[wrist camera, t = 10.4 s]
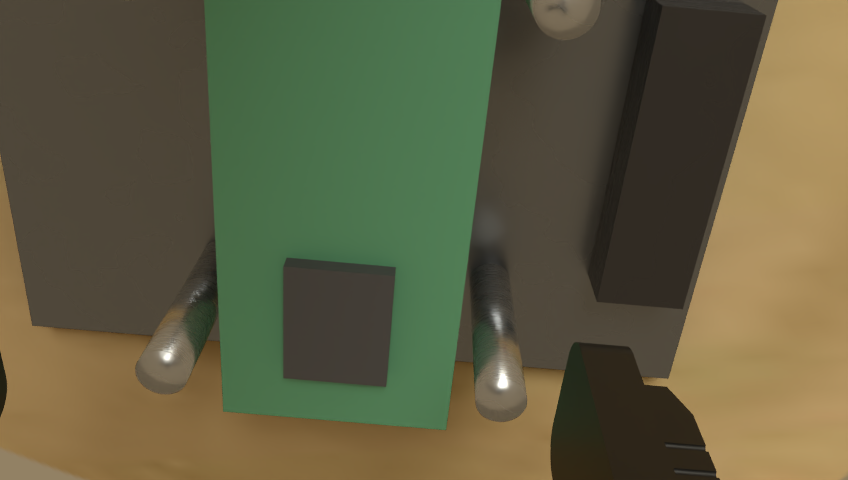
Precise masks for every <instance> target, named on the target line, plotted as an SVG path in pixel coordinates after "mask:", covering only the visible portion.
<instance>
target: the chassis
mask: <svg viewBox="0 0 848 480" xmlns="http://www.w3.org/2000/svg"><path fill="white" fill-rule="evenodd" d="M777 2H778V0H501V8H500V15H499V23H498V31H497V39H496V46H495V54H494V62H493V70H492V77H491V85H490V93H489V101H488V108H487V116H486V124H485V132H484V139H483V147H482V155H481V163H480V170H479V178H478V186H477V194H476V201H475V209H474V217H473V225H472V233H471V240H470V248H469V256H468V264H467V271H466V279H465V287H464V295H463V302H462V310H461V318H460V326H459V333H458V341H457V349H456V357H455V361H463V362H473V364H474V383H475V402H476V408H477V410H478V411H479V413H480V414H481V415H482V416H483V417H485V418H487V419H489V420H492V421H497V422H505V421H510V420H513V419H515V418H517V417H518V416H520V415H521V414H522V413H523V411H524V410H525V408H526V405H527V395H526V388H525V381H524V374H523V367H535V368H547V369H559V370H565V369H566V365H567V360H568V356H569V352H570V349H571V347H572V345H573V343H575V342H581V343H593V344H605V345H616V346H628V347H629V348H630V349H631V350H632V352H633V354H634V357H635V360H636V363H637V366H638V369H639V371H640V374H641V376H643V377H655V378H667V379H668V378H669V374H670V371H671V368H672V364H673V361H674V357H675V354H676V350H677V347H678V343H679V340H680V336H681V333H682V330H683V326H684V323H685V319H686V316H687V312H688V309H689V305H690V302H691V299H692V295H693V292H694V288H695V285H696V281H697V278H698V274H699V271H700V268H701V264H702V261H703V257H704V254H705V250H706V247H707V243H708V240H709V236H710V233H711V230H712V226H713V223H714V219H715V216H716V212H717V209H718V205H719V202H720V199H721V195H722V192H723V188H724V185H725V181H726V178H727V174H728V171H729V168H730V164H731V161H732V157H733V154H734V150H735V147H736V143H737V140H738V136H739V133H740V130H741V126H742V123H743V119H744V116H745V112H746V109H747V105H748V102H749V99H750V95H751V92H752V88H753V85H754V81H755V78H756V74H757V71H758V68H759V64H760V61H761V57H762V54H763V50H764V47H765V43H766V40H767V36H768V33H769V30H770V26H771V23H772V19H773V16H774V12H775V9H776V5H777ZM0 154H1V159H2V164H3V170H4V175H5V181H6V186H7V191H8V197H9V202H10V208H11V213H12V218H13V224H14V229H15V234H16V240H17V245H18V251H19V256H20V261H21V267H22V272H23V277H24V283H25V288H26V294H27V299H28V304H29V310H30V315H31V321H32V326H43V327H55V328H67V329H79V330H91V331H103V332H115V333H127V334H139V335H151V336H152V338H151V340H150V342H149V343H148V345H147V347H146V348H145V350H144V352H143V353H142V355H141V357H140V358H139V360H138V362H137V364H136V368H135V372H136V376H137V378H138V380H139V381H140V383H141V384H142V385H143V386H144V387H146V388H147V389H149V390H150V391H153V392H155V393H159V394H173V393H176V392H178V391H180V390H181V389H182V388H183V387H184V386H185V385H186V383H187V381H188V379H189V376H190V374H191V372H192V370H193V368H194V366H195V364H196V362H197V360H198V358H199V356H200V353H201V351H202V349H203V347H204V345H205V343H206V341H207V340H211V341H220V330H219V308H218V287H217V265H216V244H215V222H214V201H213V180H212V158H211V137H210V115H209V94H208V72H207V51H206V30H205V8H204V0H0ZM522 366H523V367H522Z"/></svg>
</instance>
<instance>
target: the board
mask: <svg viewBox="0 0 848 480" xmlns="http://www.w3.org/2000/svg"><path fill="white" fill-rule="evenodd" d="M204 8H205V30H206V51H207V72H208V94H209V115H210V137H211V158H212V180H213V201H214V222H215V244H216V265H217V287H218V308H219V330H220V351H221V373H222V394H223V411H224V412H236V413H248V414H260V415H272V416H284V417H295V418H307V419H319V420H331V421H343V422H355V423H367V424H379V425H391V426H403V427H415V428H427V429H439V430H446V426H447V419H448V411H449V403H450V395H451V388H452V380H453V372H454V364H455V357H456V349H457V341H458V333H459V326H460V318H461V310H462V302H463V295H464V287H465V279H466V271H467V264H468V256H469V248H470V240H471V233H472V225H473V217H474V209H475V201H476V194H477V186H478V178H479V170H480V163H481V155H482V147H483V139H484V132H485V124H486V116H487V108H488V101H489V93H490V85H491V77H492V70H493V62H494V54H495V46H496V39H497V31H498V23H499V15H500V8H501V0H204Z"/></svg>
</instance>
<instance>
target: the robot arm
mask: <svg viewBox="0 0 848 480" xmlns="http://www.w3.org/2000/svg"><path fill="white" fill-rule="evenodd" d="M6 394H7V380H6V375H5V370H4V366H3V361H2V357H1V353H0V416H1V414H2V411H3V408H4V405H5V400H6ZM705 446H706V445H705V443H704V440H703V438H702V435H701V433H700V431H699V428H698V426H697V423H696V421H695V419H694V416H693V414H692V413H691V412H690V411H689V410H688V409H687V408H686V407H685V406H684V405H683V404H682V403H681V402H680V400H679V399H678V398H677V397H676V396H675V395H674V394H673V393H672V392H671V391H670V390H669V389H668V388H667V387H662V386H650V385H644V383H643V380H642V377H641V374H640V371H639V369H638V366H637V363H636V360H635V357H634V354H633V352H632V350H631V349H630V348H629V347H628V346H616V345H605V344H593V343H581V342H575V343H573V345H572V347H571V349H570V352H569V356H568V360H567V365H566V369H565V373H564V378H563V382H562V387H561V391H560V396H559V400H558V405H557V409H556V414H555V418H554V423H553V428H552V435H551V471H552V478H553V480H720V479H719V478H716V469H715V467H714V464H713V462H712V460H711V457H710V455H709V452H706V451H705Z"/></svg>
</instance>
